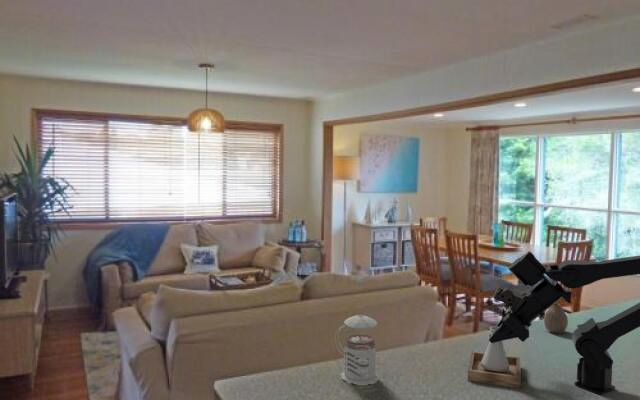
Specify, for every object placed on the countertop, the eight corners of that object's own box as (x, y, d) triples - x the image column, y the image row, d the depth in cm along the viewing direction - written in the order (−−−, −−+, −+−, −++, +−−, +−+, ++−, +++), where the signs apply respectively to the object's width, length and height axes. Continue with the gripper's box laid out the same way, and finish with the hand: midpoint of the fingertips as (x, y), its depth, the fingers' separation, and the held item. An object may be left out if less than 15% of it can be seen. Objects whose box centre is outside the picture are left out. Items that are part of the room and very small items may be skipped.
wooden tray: (519, 366, 133) (519, 357, 133) (520, 388, 120) (520, 377, 120) (471, 360, 137) (471, 351, 137) (467, 380, 124) (467, 370, 124)
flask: (505, 362, 132) (507, 324, 131) (513, 373, 125) (515, 333, 124) (477, 360, 133) (478, 323, 132) (483, 371, 125) (484, 332, 125)
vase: (545, 333, 160) (546, 306, 159) (542, 327, 167) (543, 301, 166) (569, 336, 158) (570, 308, 157) (565, 329, 165) (566, 302, 164)
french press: (369, 389, 119) (370, 283, 117) (326, 378, 125) (327, 277, 123) (386, 374, 127) (387, 275, 126) (345, 364, 133) (346, 270, 132)
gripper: (513, 268, 135) (469, 305, 139) (514, 283, 117) (464, 325, 121) (545, 300, 132) (499, 337, 137) (551, 320, 115) (498, 362, 119)
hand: (490, 339), depth 129 cm, fingers closed on flask, 3 cm apart
